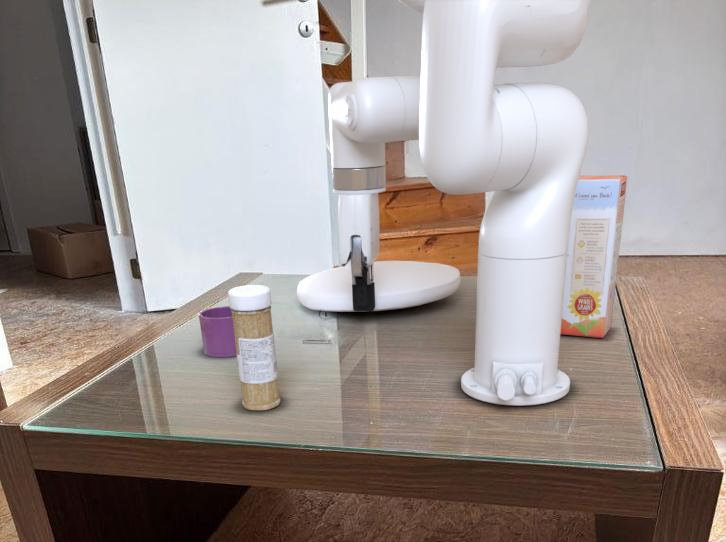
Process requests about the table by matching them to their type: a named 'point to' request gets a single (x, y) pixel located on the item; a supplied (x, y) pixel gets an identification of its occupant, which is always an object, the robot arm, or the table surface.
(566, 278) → the cracker box
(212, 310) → the cup
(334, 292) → the plate
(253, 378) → the spice jar
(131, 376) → the table surface
